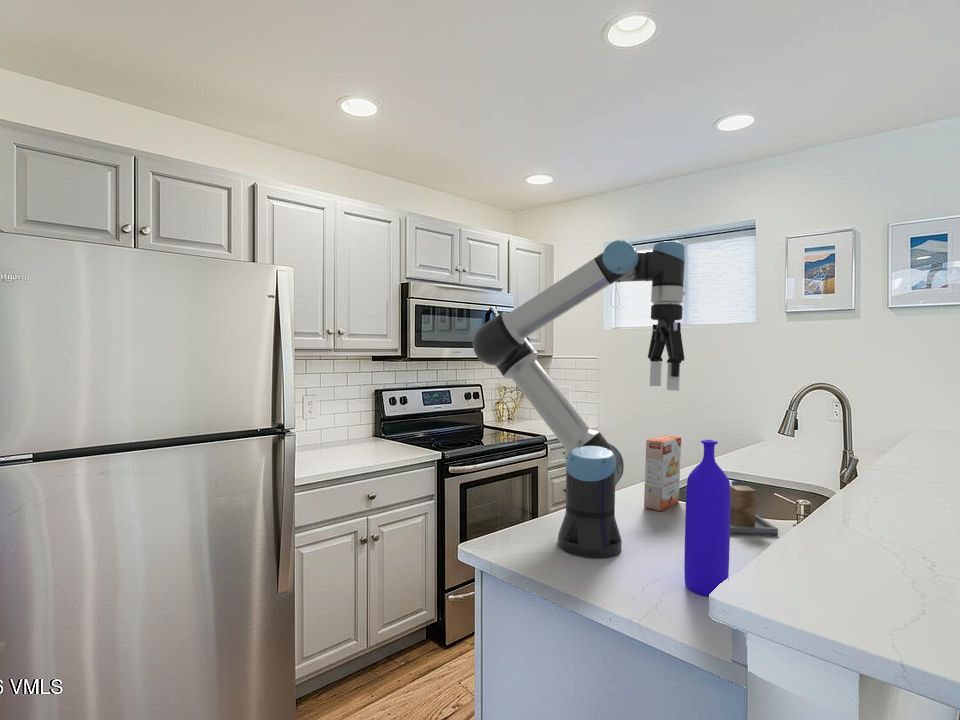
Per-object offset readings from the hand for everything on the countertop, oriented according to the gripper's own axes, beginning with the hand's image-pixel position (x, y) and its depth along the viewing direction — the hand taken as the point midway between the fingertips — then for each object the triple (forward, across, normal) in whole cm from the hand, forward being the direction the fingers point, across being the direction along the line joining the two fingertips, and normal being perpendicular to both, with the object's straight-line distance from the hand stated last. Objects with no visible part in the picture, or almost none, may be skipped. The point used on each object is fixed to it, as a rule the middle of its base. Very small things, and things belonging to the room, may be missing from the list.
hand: (663, 388), depth 134 cm
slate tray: (+38, +9, -26) cm, 47 cm away
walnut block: (+37, +9, -26) cm, 46 cm away
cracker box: (+38, +28, -10) cm, 49 cm away
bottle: (+38, -29, 0) cm, 48 cm away
